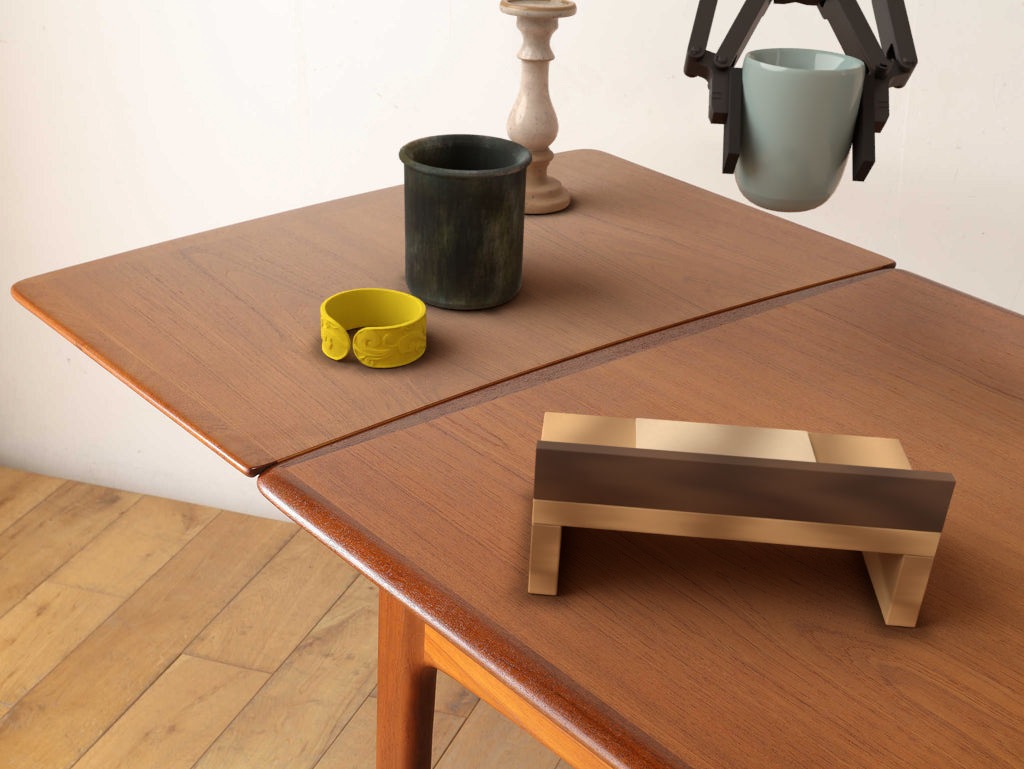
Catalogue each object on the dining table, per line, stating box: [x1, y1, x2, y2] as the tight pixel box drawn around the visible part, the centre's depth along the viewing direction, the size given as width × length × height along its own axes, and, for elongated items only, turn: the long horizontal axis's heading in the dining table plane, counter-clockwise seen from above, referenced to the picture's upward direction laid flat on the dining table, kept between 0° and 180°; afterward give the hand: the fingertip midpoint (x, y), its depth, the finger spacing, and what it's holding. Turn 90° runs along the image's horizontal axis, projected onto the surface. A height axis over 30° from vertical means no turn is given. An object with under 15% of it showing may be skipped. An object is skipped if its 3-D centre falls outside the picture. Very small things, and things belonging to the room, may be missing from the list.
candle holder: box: [498, 0, 578, 215], centre depth 108 cm, size 9×9×20 cm
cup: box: [733, 47, 865, 213], centre depth 72 cm, size 8×8×10 cm
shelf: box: [527, 411, 957, 628], centre depth 57 cm, size 20×9×9 cm, turn 85°
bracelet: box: [319, 287, 427, 369], centre depth 80 cm, size 7×8×3 cm
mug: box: [398, 133, 532, 311], centre depth 90 cm, size 11×15×12 cm
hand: (797, 167), depth 70 cm, fingers closed on cup, 8 cm apart
